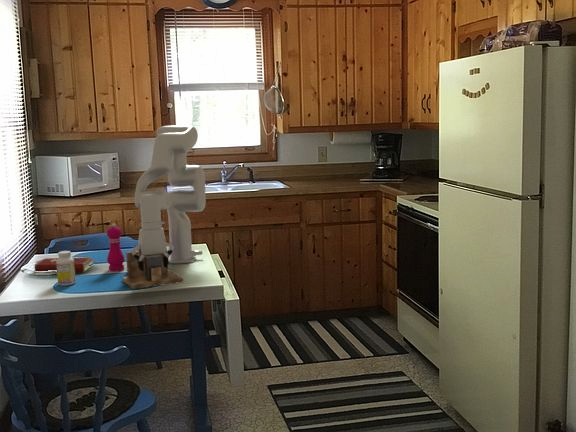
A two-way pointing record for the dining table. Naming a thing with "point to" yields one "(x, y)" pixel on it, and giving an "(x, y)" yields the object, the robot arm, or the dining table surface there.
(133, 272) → the wooden desk organizer
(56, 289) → the dining table surface
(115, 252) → the pepper mill
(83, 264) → the hardcover book
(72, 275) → the supplement bottle
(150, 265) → the bracket
